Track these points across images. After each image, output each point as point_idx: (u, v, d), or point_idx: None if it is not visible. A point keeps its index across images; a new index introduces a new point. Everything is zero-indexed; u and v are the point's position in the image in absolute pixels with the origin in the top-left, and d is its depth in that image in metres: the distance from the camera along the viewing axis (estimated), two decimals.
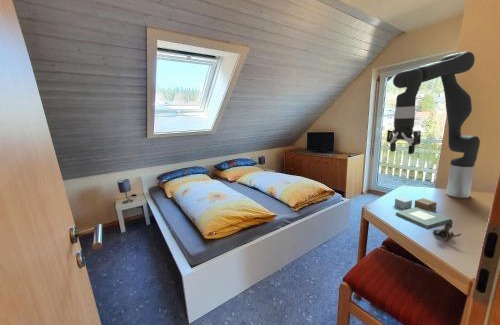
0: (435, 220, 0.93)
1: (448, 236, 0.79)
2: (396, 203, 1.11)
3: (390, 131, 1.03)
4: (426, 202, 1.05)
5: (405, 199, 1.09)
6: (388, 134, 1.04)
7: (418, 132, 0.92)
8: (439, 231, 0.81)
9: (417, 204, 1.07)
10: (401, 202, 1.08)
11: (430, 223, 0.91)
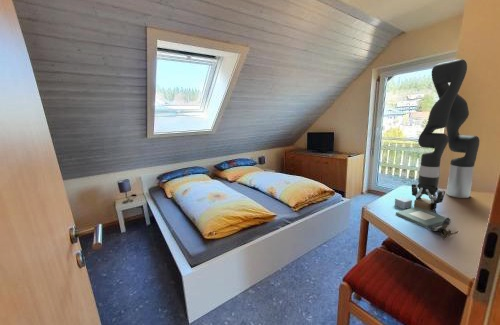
0: (435, 220, 0.93)
1: (446, 233, 0.80)
2: (396, 203, 1.11)
3: (414, 185, 1.10)
4: (426, 202, 1.04)
5: (405, 199, 1.09)
6: (412, 188, 1.10)
7: (443, 193, 0.98)
8: (437, 229, 0.82)
9: (417, 204, 1.07)
10: (401, 202, 1.08)
11: (430, 223, 0.91)
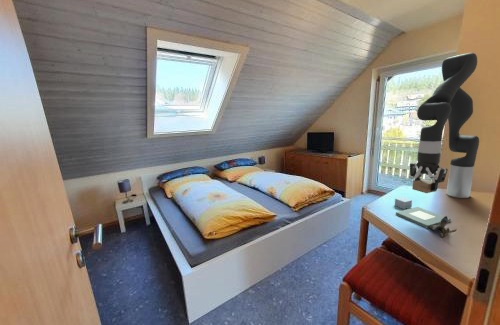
0: (435, 220, 0.93)
1: (444, 232, 0.82)
2: (396, 203, 1.11)
3: (412, 165, 0.98)
4: (425, 182, 0.93)
5: (405, 199, 1.09)
6: (411, 168, 0.99)
7: (445, 171, 0.87)
8: (435, 227, 0.83)
9: (415, 185, 0.95)
10: (401, 202, 1.08)
11: (430, 223, 0.91)
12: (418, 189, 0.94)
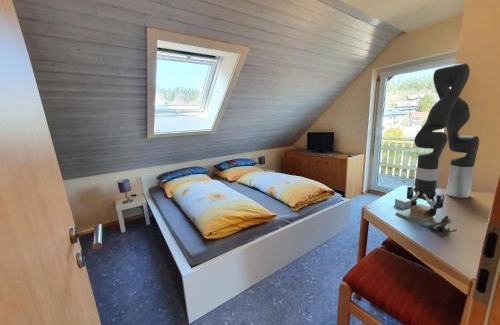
0: (435, 220, 0.93)
1: (445, 232, 0.82)
2: (396, 203, 1.11)
3: (410, 188, 1.01)
4: (422, 208, 0.95)
5: (405, 199, 1.09)
6: (408, 191, 1.01)
7: (442, 197, 0.89)
8: (436, 227, 0.83)
9: (413, 210, 0.98)
10: (401, 202, 1.08)
11: (430, 223, 0.91)
12: (415, 214, 0.97)
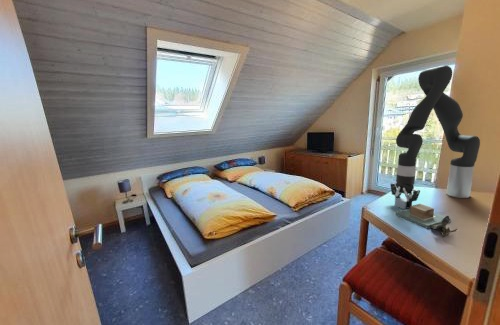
0: (435, 220, 0.93)
1: (445, 231, 0.82)
2: (396, 203, 1.11)
3: (393, 185, 1.13)
4: (422, 208, 0.95)
5: (405, 199, 1.09)
6: (392, 187, 1.14)
7: (418, 192, 1.02)
8: (436, 227, 0.84)
9: (413, 210, 0.98)
10: (401, 202, 1.08)
11: (430, 223, 0.91)
12: (415, 214, 0.97)
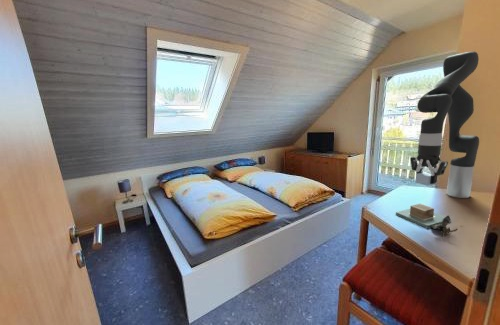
0: (435, 220, 0.93)
1: (445, 231, 0.82)
2: (417, 179, 0.95)
3: (413, 158, 0.97)
4: (422, 208, 0.95)
5: (428, 174, 0.94)
6: (412, 162, 0.98)
7: (445, 164, 0.86)
8: (436, 226, 0.84)
9: (413, 210, 0.98)
10: (424, 177, 0.92)
11: (430, 223, 0.91)
12: (415, 214, 0.97)
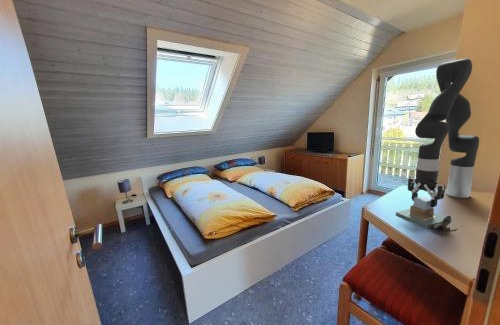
0: (435, 220, 0.93)
1: (445, 231, 0.82)
2: (415, 203, 0.97)
3: (411, 180, 1.00)
4: None
5: (426, 198, 0.96)
6: (409, 183, 1.00)
7: (443, 187, 0.88)
8: (437, 226, 0.84)
9: (413, 210, 0.98)
10: (421, 202, 0.95)
11: (430, 223, 0.91)
12: (415, 214, 0.97)
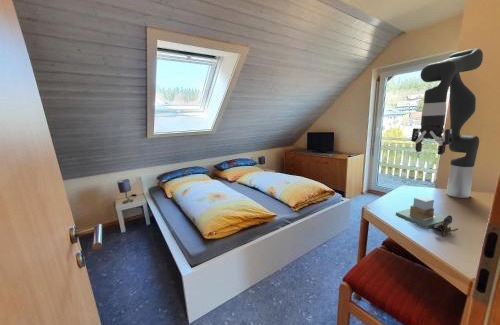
0: (435, 220, 0.93)
1: (446, 230, 0.82)
2: (415, 203, 0.97)
3: (416, 130, 0.95)
4: None
5: (426, 198, 0.96)
6: (413, 133, 0.96)
7: (450, 130, 0.83)
8: (437, 226, 0.84)
9: (413, 210, 0.98)
10: (421, 202, 0.95)
11: (430, 223, 0.91)
12: (415, 214, 0.97)
